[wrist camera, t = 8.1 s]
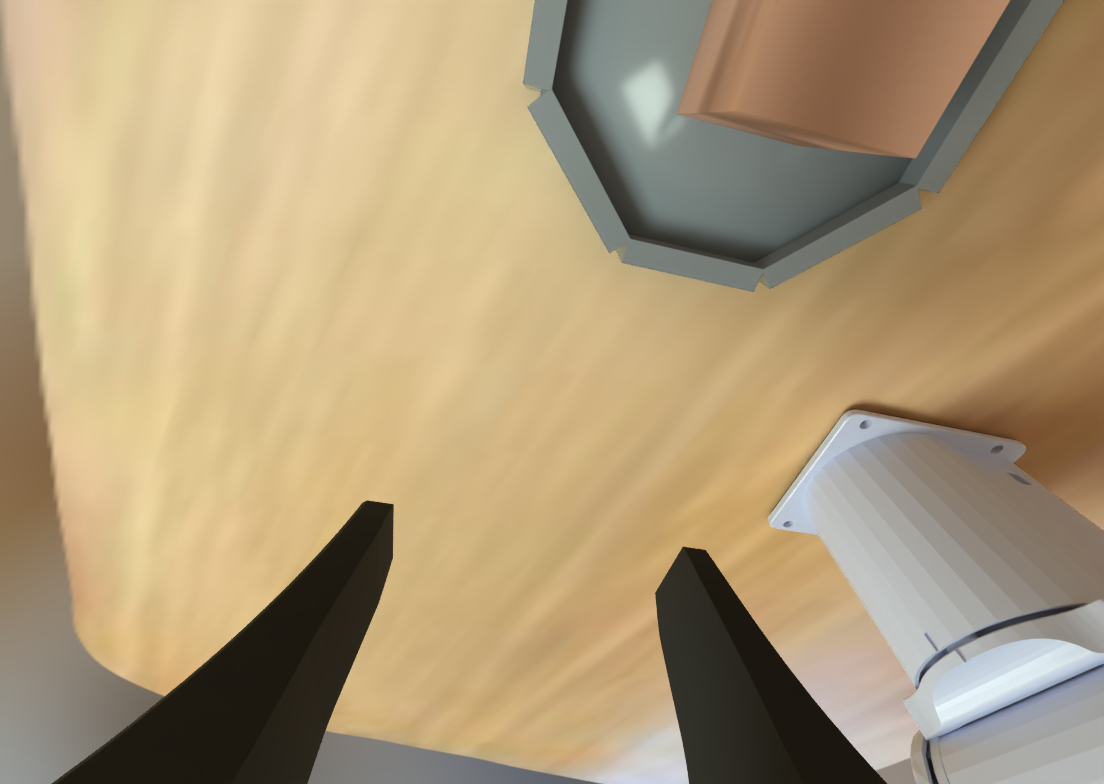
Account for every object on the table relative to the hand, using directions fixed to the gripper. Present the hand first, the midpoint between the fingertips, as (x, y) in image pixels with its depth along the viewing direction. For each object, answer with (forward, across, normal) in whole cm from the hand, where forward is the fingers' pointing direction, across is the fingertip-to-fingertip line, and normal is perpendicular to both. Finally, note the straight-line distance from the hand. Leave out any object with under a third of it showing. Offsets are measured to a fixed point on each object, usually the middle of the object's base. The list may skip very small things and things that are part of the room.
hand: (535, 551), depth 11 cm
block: (+8, -4, -12) cm, 15 cm away
